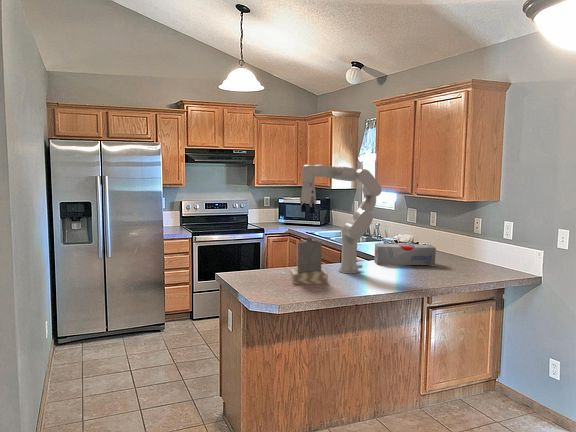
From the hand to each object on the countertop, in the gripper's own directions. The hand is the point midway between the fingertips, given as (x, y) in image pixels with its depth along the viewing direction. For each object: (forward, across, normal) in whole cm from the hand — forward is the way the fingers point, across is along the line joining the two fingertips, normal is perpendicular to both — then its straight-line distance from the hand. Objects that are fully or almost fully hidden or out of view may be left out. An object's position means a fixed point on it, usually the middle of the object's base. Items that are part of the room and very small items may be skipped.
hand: (307, 212), depth 293 cm
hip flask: (+33, -17, +9) cm, 38 cm away
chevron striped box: (+39, -17, +10) cm, 43 cm away
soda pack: (+39, -5, -79) cm, 88 cm away
